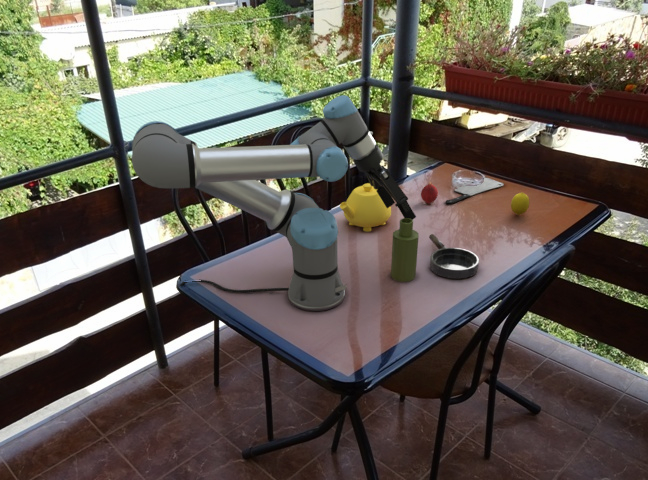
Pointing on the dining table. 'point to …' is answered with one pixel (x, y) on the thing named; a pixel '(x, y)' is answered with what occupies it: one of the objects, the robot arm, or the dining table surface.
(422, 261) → the dining table surface
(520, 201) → the lemon
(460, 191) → the cleaver
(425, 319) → the dining table surface
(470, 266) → the pan
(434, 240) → the pan handle
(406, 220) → the oil bottle
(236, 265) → the dining table surface
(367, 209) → the teapot
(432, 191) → the onion
